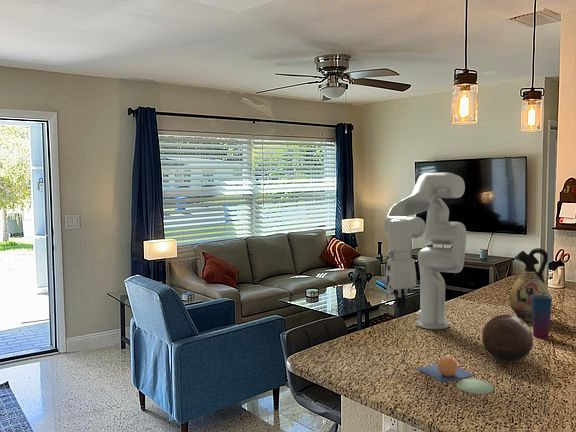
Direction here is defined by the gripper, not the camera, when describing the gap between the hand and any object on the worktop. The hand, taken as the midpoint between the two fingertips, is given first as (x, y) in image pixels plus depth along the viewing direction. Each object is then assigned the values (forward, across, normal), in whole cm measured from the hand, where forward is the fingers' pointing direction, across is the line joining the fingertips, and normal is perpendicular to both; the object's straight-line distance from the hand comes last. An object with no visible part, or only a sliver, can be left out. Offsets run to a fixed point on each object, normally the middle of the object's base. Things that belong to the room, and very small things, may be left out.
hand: (400, 307), depth 174 cm
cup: (+16, +54, -12) cm, 58 cm away
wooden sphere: (+15, +23, -24) cm, 37 cm away
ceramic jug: (+16, +70, +5) cm, 72 cm away
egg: (+12, -2, -25) cm, 28 cm away
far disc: (+15, -1, -34) cm, 37 cm away
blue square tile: (+15, -1, -22) cm, 27 cm away
